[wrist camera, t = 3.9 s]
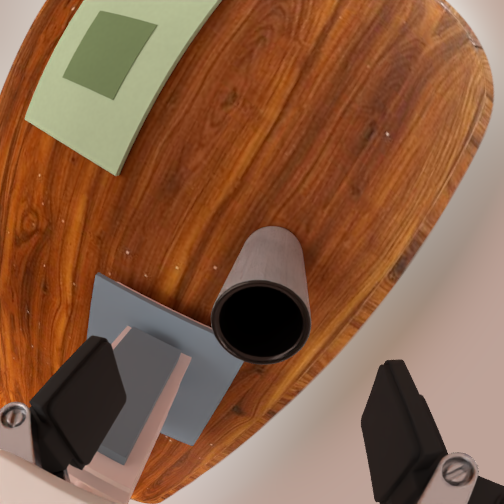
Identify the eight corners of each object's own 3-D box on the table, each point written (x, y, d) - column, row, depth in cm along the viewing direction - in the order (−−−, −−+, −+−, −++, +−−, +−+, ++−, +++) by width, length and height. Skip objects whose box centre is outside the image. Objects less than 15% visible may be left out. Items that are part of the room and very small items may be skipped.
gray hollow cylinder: (270, 293, 24) (257, 379, 14) (230, 252, 23) (190, 320, 13) (314, 257, 22) (331, 330, 13) (274, 212, 22) (262, 258, 12)
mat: (112, -33, 16) (109, -35, 15) (230, -10, 17) (228, -13, 16) (28, 119, 21) (23, 119, 21) (119, 175, 22) (114, 176, 22)
